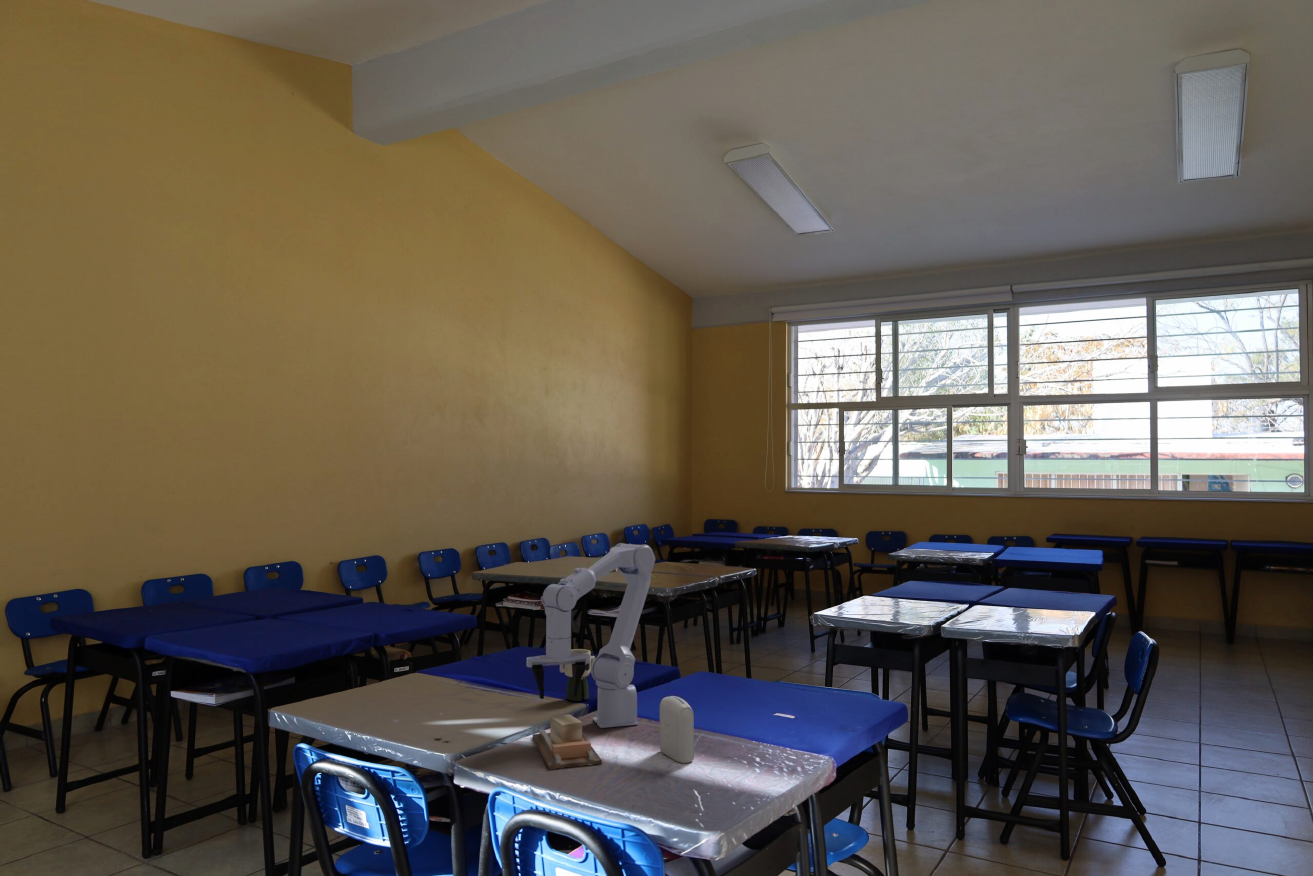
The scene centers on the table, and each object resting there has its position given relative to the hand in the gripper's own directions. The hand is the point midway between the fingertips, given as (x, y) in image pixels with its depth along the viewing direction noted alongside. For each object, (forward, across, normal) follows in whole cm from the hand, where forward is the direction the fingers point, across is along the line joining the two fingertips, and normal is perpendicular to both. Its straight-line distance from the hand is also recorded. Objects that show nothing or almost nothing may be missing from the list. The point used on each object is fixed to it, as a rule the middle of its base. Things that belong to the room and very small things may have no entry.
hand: (558, 696), depth 185 cm
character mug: (+10, -11, -32) cm, 35 cm away
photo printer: (+10, -22, +20) cm, 31 cm away
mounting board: (+9, 0, +9) cm, 13 cm away
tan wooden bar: (+9, 0, +16) cm, 18 cm away
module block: (+9, 0, +10) cm, 13 cm away
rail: (+9, 0, +9) cm, 13 cm away
